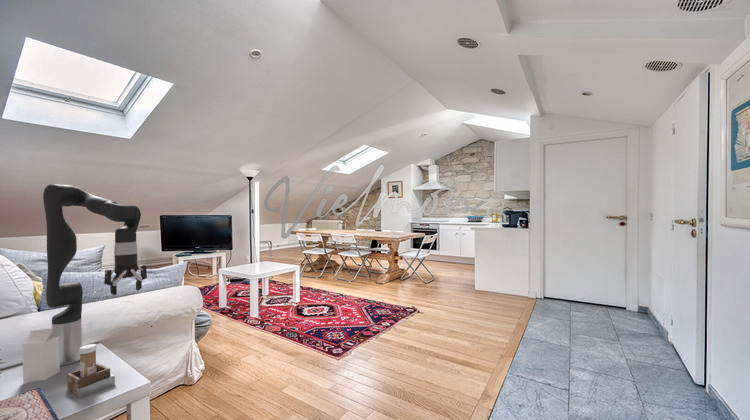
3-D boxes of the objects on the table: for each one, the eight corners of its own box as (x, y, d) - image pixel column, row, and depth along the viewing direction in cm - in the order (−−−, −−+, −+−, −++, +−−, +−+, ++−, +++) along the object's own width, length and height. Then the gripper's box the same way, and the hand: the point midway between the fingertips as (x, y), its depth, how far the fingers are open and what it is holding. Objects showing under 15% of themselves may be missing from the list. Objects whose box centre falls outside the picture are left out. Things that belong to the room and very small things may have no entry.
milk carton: (45, 383, 122) (44, 332, 122) (22, 385, 121) (22, 333, 121) (60, 373, 129) (59, 325, 129) (39, 375, 128) (38, 326, 128)
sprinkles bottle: (95, 384, 116) (95, 346, 116) (78, 388, 114) (78, 349, 114) (97, 379, 120) (97, 342, 120) (81, 382, 117) (80, 345, 117)
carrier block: (67, 389, 115) (67, 373, 115) (98, 377, 123) (98, 363, 123) (78, 396, 111) (78, 379, 111) (110, 383, 119) (110, 368, 119)
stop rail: (76, 397, 110) (76, 387, 110) (112, 383, 119) (112, 374, 119) (79, 399, 109) (79, 389, 109) (114, 385, 118) (114, 375, 118)
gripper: (109, 255, 127) (110, 297, 127) (149, 251, 140) (150, 289, 140) (100, 254, 131) (101, 295, 131) (140, 250, 143) (141, 287, 143)
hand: (126, 292), depth 135 cm, fingers open, 8 cm apart
